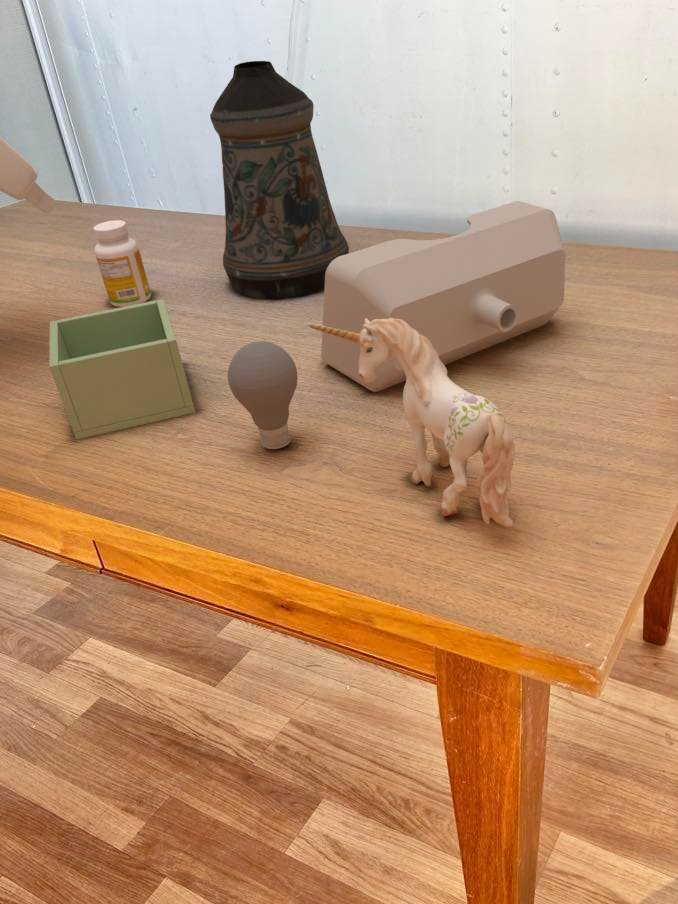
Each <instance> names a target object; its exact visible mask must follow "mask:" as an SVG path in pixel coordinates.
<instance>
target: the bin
mask: <svg viewBox="0 0 678 904" xmlns="http://www.w3.org/2000/svg"><path fill="white" fill-rule="evenodd" d="M180 353H181V352H180V350H179V345H178V342H177V338H176V335H175V331H174V328H173V326H172V321H171V317H170V316H169V312H168V308H167V305H166V301H165V299H164V298H162V299H161V298H160V299H156V300H155V299H154V300H151V301H146V302H144V303H140V304H135V305H130V306H125V307H116V308H111V309H106V310H99V311H96V312H90V313H86V314H80V315H75V316H70V317H65V318H61V319H57V320H56V319H55V320H51V321H49V360H48V363H49V366H48V367H49V370H50V372H51V375H52V378H53V381H54V383H55V387H56V389H57V392H58V394H59V398H60V400H61V402H62V405H63V407H64V410H65V413H66V416H67V419H68V421H69V424H70V427H71V429H72V432H73V434H74V437H75V439H76V440H81V439H86V438H90V437H94V436H98V435H102V434H107V433H112V432H117V431H121V430H125V429H128V428H134V427H138V426H143V425H147V424H152V423H155V422H159V421H164V420H165V421H166V420H168V419H173V418H177V417H181V416H186V415H190V414H195V413H196V409H195V405H194V402H193V398H192V394H191V390H190V387H189V383H188V379H187V375H186V372H185V368H184V364H183V360H182V357H181V354H180Z"/></svg>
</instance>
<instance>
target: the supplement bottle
mask: <svg viewBox="0 0 678 904" xmlns="http://www.w3.org/2000/svg"><path fill="white" fill-rule="evenodd" d="M93 233H94V235H95V239H96V240H97V241H98V243H96V245H95V246H94V250H93V251H94V255H95V258H96V262H97V265H98V268H99V272H100V275H101V278H102V281H103V284H104V289H105V291H106V295H107V299H108V300H109V303H110V304H111V306H113V307H116V308H120V307H125V306H130V305H135V304H140V303H145V302H148V300H150V299H151V297H152V293H151V288H150V285H149V281H148V277H147V274H146V270H145V266H144V263H143V259H142V254H141V252H140V248H139V244H138V242H137V241H136V240H135V239H133V237H132V238H131V237H129V234H130V233H129V229H128V226H127V223H126V222H125V220H120V219H119V220H118V219H117V220H116V219H115V220H108V221H103V222H100V223H98V224H96V225H95V226H93Z"/></svg>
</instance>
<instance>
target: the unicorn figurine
mask: <svg viewBox="0 0 678 904" xmlns="http://www.w3.org/2000/svg"><path fill="white" fill-rule="evenodd" d="M364 321H365V324H364V325H363V327H365V328H364V329H362V330H361V334H359V333H355V332H348V331H346V330H340V329H334V328H332V327H326V326H323V325H321V324H316V323H312V322H308V323H307V324H306V326H308V327H309V328H310V329H314V330H316V331H320V332H321V333H322V332H326V333H329V334H331V335H334V336H337V337H341V338H343V339H348V340H350V341H353V342H356V343H360V351H361V353H360V357H359V371H358V374H359V376H360V377H361V378H362V379H363V380H364V381H365V382H367V383H369V382H372V381H374V380H376V379H378V377H379V375H378V372H377V371H378V370H379V368H380V366H381V364H382V363H383V362H385V361H386V360H387V359H388V358H389V357H390V356H394V357H396V358H397V359H398V360H399V362H400V363H401V365H402V367H403V369H404V372H405V374H406V381H405V384H404V386H403V392H402V401H403V402H402V406H403V412H404V416H405V418H406V419H407V422H408V425H409V428H410V430H411V433H412V435H413V446H414V450H415V452H416V455H417V465H416V469H414V470H413V472H412V474H411V476H410V481H411V483H412V484H414V485H418V484H419V483H420V482H423V483H424V485H425V486H427V487H428V488H430V487H431V485H432V476H433V469H434V468H433V464H432V462H431V461H430V460H429V458H428V456H427V450H428V449H427V448H428V441H427V439H426V436H425V435H426V432H425V430H428V432H430V434H431V438H432V445H433V449H434V451H436V456H437V460H438V464H439V465H440V467H442V468H447V467H449V466H450V469H451V471H452V474H453V481H452V483H451V484H450V485H449V486H447V487H446V488H445V489H444V490H443V492H442V502H441V515H442V517H448V516H452V515H455V514H456V513H458V511H459V510H458V505H459V504H460V502H461V494H460V493H461V492H462V491H465V490H467V489H468V487H469V482H468V478H467V465H468V460H469V459H470V458H471V457H472V456H474V455H476V454H477V453H478V452H479V451H480V453H481V460H482V464H483V466H482V471H481V472H480V473H479V474H478V477H477V479H476V486H477V489H478V491H479V497H478V503H479V505H480V509H481V517H482V520H483V521H484V523H485V524H486V525H490V524H491V518H492V520H493V521H494V522H495V523H497V524H499V525H501V526H503V527H506V528H511V527H512V526H513V525H514V520H513V519H512V518H511V517H510V516H509V515H510V508H509V507H510V503H509V502H508V500H507V498H506V497H507V492H510V491H511V490H512V478H511V477H512V476H511V472H512V470H513V467H514V459H515V455H516V446H515V441H514V434H513V431H512V430H511V428H509V426H508V425H507V422H506V418H505V415H504V414H503V412H502V410H501V409H499V407H498V406H497V405H496V404H495V403H493V402H492V401H491V400H489V399H488V398H486V397H484V396H482V395H478V394H473V393H471V392H469V391H467V390H466V389H463V388H462V387H461V386H459V385H458V384H456V383H455V382H453V380H451V379H450V377H449V376H448V370H447V367H446V365H444V364H443V363H442V362H441V361H440V359H439V356H438V353H437V351H436V350H435V349H434V347H433V345H432V344H431V342H430V341H429V340H428V339H427V338H426V337H424V336H423V335H421V334H419V333H418V332H417V331H416V330H414V329H413V328H411V327H410V326H409V325H408V324H407V323H406V322H405V321H403V320H401V319H394V318H389V319H375V320H373V321H371V322H370V321H369V320H368V319H364Z"/></svg>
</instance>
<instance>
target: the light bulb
mask: <svg viewBox="0 0 678 904" xmlns="http://www.w3.org/2000/svg"><path fill="white" fill-rule="evenodd" d="M227 382H228V383H227V384H228V386H229V389H230V391H231V393H232V395H233V396H234V398H235V399H236V400H237V401H238V402H239V403H240V404H241V406H242V407H244V408H245V409H246V411H247V412H248V413H249V414H250V416H251V418H252V421H253V423H254V425H255V426H256V427H257V429H258V431H259V436H260V441H261V445H262V447H264V448H265V449H269V450H279V449H282V448H285V447H286V446H288V445H289V443H290V442H291V435H290V431H289V426H288V421H289V419H290V418H289V417H290V405H291V403H292V399H293V397H294V394H295V392H296V389H297V385H298V369H297V365H296V363H295V361H294V360H293V358H292V356H291V355H290V354H289V353H288V352H287V351H286V350H285V349H284V348H282V347H280V346H279V345H278V344H275V343H273V342H270V341H253V342H250V343H248V344H245V345H244V346H242V347H240V348H239V350H237V351H236V353H235V354H234V355H233V357H232V358H231V361H230V363H229V365H228V369H227Z"/></svg>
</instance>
